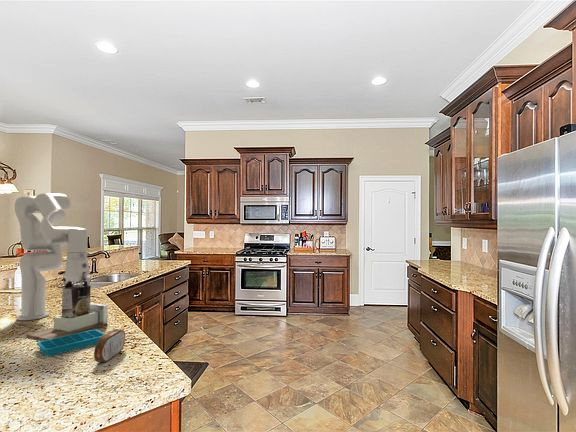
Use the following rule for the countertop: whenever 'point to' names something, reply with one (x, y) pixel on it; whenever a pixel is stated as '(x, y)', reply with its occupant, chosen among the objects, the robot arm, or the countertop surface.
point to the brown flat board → (60, 332)
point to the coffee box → (75, 302)
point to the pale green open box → (75, 321)
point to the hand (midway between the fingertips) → (76, 294)
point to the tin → (109, 345)
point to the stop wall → (100, 312)
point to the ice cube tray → (69, 342)
